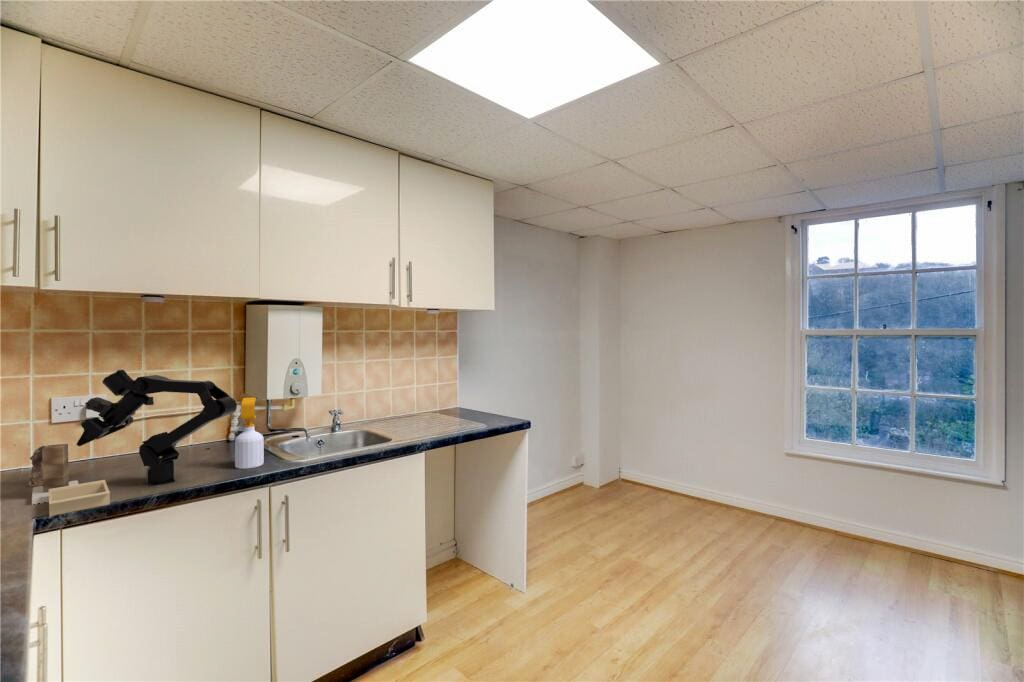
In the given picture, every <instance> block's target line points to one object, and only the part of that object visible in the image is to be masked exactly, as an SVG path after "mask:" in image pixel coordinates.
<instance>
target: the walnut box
mask: <svg viewBox="0 0 1024 682" xmlns="http://www.w3.org/2000/svg"><path fill="white" fill-rule="evenodd" d="M45 446H46V447H44V448H43V449H42V462H43V493H47V492H49V489H52V488H58V487H64V486H69V482H70V481H69V479H70V478H69V476H70V475H69V443H61V444H60V443H59V444H50V445H49V444H48V445H45Z"/></svg>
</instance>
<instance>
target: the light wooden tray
mask: <svg viewBox="0 0 1024 682" xmlns="http://www.w3.org/2000/svg"><path fill="white" fill-rule="evenodd" d="M110 494H111V491H110V490H109V487H108V485H107V482H106V479H102V480H95V481H89V482H83V483H79V484H76V485H70V486H64V487H58V488H52V489H49V502H48V509H49V511H48V512H49V513H48V514H49V515H48V516H49V517H51V516H52V517H53V516H56V515H63V514H67V513H72V512H76V511H82V510H83V511H84V510H88V509H94V508H97V507H103V506H108V505H110V504H111V503H110V497H111V496H110Z"/></svg>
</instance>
